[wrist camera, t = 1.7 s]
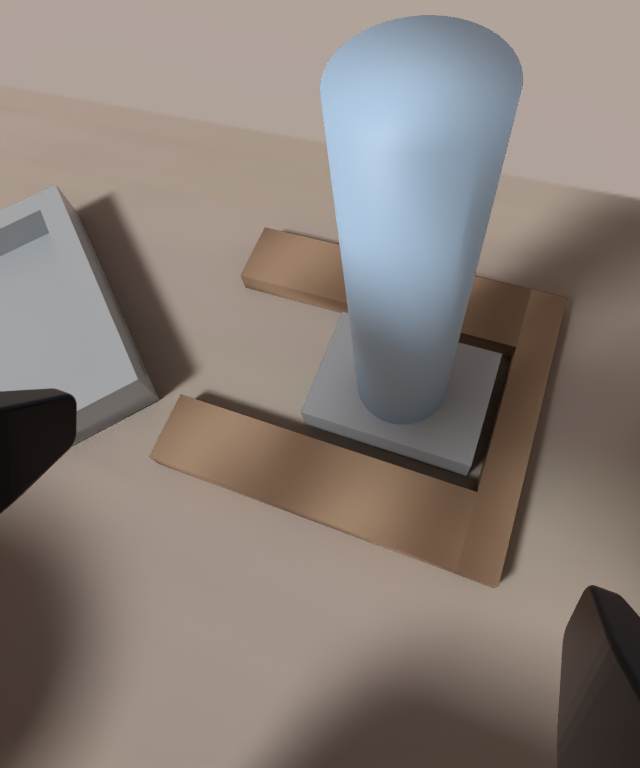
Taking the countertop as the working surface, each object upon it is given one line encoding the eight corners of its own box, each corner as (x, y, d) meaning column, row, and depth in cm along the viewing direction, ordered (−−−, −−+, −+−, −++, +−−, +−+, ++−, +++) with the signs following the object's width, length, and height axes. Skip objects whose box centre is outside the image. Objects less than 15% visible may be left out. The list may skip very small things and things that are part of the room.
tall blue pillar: (495, 369, 23) (647, 13, 10) (465, 476, 22) (599, 225, 8) (344, 328, 25) (292, -24, 11) (305, 424, 23) (189, 145, 10)
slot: (560, 309, 24) (567, 297, 23) (493, 587, 20) (498, 586, 19) (269, 240, 28) (264, 227, 27) (158, 463, 23) (149, 457, 22)
